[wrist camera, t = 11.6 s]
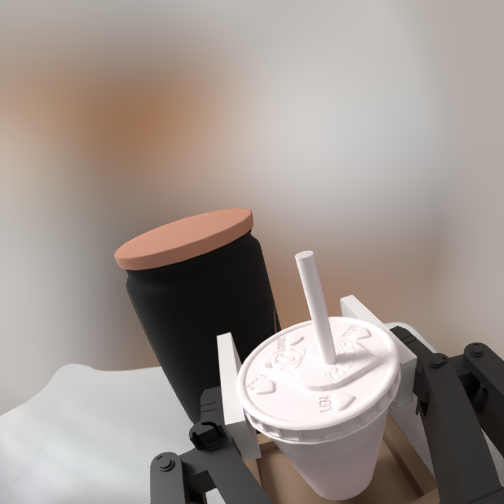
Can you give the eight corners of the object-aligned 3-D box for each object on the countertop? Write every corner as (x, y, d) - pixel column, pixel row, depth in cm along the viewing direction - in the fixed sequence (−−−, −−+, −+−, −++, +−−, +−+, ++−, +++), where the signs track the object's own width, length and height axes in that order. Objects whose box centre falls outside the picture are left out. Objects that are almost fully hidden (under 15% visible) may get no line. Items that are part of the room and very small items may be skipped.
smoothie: (381, 525, 9) (383, 308, 5) (271, 508, 12) (148, 312, 8) (403, 435, 14) (393, 211, 10) (309, 430, 18) (246, 234, 14)
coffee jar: (320, 406, 25) (281, 210, 19) (215, 464, 21) (115, 271, 15) (263, 358, 34) (220, 205, 29) (180, 398, 30) (112, 244, 25)
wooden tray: (275, 576, 10) (260, 567, 9) (251, 466, 20) (237, 438, 19) (431, 518, 11) (447, 497, 9) (374, 425, 21) (375, 393, 19)
